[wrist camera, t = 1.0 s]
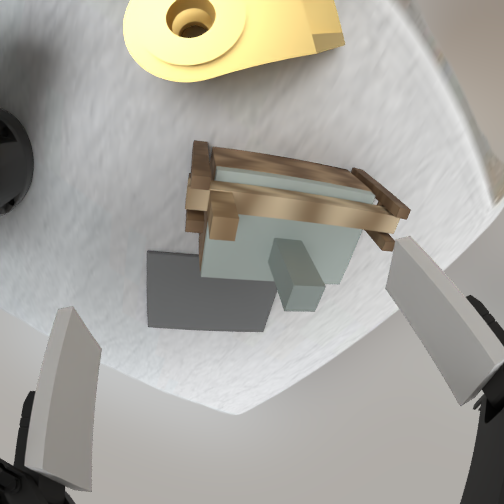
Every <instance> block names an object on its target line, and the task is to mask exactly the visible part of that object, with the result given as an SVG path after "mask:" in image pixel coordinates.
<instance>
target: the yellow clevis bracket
mask: <svg viewBox="0 0 504 504" xmlns="http://www.w3.org/2000/svg"><path fill="white" fill-rule="evenodd" d="M194 25H197V26H201V27H203V28H204V29H206V31H207V32H206V33H205V34H203V35H201V36H198V37H195V38H183V37H181V34H182V32H183V31H184V30H185V29H186V28H188V27H190V26H194ZM123 33H124V39H125V43H126V46H127V48H128V50H129V52H130V54H131V55H132V57H133V58H134V59H135V61H136V62H137V63H138V64H139V65H140V66H141V67H142V68H144V69H145V70H146V71H148V72H150V73H151V74H153V75H155V76H157V77H160V78H163V79H166V80H170V81H176V82H197V81H203V80H207V79H210V78H214V77H217V76H220V75H224V74H227V73H231V72H234V71H238V70H242V69H246V68H250V67H254V66H258V65H262V64H266V63H270V62H275V61H280V60H284V59H289V58H295V57H300V56H305V55H311V54H317V53H320V52H323V51H327V50H330V49H333V48H337V47H340V46H344V45H345V41H344V37H343V33H342V29H341V25H340V21H339V17H338V14H337V10H336V6H335V3H334V0H131V1H130V2H129V4H128V7H127V9H126V12H125V16H124V22H123Z"/></svg>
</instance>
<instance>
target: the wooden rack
mask: <svg viewBox="0 0 504 504" xmlns="http://www.w3.org/2000/svg"><path fill="white" fill-rule="evenodd" d="M216 166H221V167H229V168H237V169H245V170H252V171H259V172H266V173H273V174H279V175H285V176H292V177H298V178H304V179H309V180H315V181H320V182H326V183H331V184H336V185H342V186H347V187H352V188H357V189H361V190H366V191H371V192H372V193H373V194H374V195H375V196H376V197H375V198H376V199H377V200H378V204H377V206H383V207H386V208H387V209H388V210H389V211H390V212H391V213H392V214H393V215H394V216H395V217H396V218H401V219H406V220H407V218H408V215H409V213H410V211H411V210H410V209H409V208H408V207H407V206H406V205H405V204H403V203H402V202H401V201H400V200H399V199H398V198H397V197H395V196H394V195H393V194H392V193H391V192H389V191H388V190H387V189H386V188H385V187H383V186H382V185H381V184H380V183H378V182H377V181H376V180H375V179H373V178H372V177H371V176H370V175H368V174H367V173H366V172H365V171H363V170H361V169H357V168H352V171H351V172H349V171H348V170H346V169H341V168H337V167H332V166H327V165H322V164H318V163H312V162H307V161H302V160H297V159H291V158H286V157H280V156H274V155H268V154H262V153H255V152H249V151H242V150H235V149H227V148H219V147H212V153H211V159H210V161H209V152H208V143H207V142H203V141H194V143H193V150H192V166H191V173H189V178H191V185H190V189H201V190H209V189H210V183H211V180H213V181H214V178H215V172H216ZM207 222H208V216H207V211H200V210H189V209H186V227H185V232H194V233H199V264H200V271H201V265H202V257H203V250H204V243H205V236H206V229H207ZM365 231H366V232H367V233H368V234H369V236H370V237H371V238H372V239H373V240H374V242H375V243H376V244H377V245H378V246H379V248H380V249H381V250H382V251H393V249H394V245H395V241H394V239H393V238H392V237H391V236H390V235H389V234H388V233H385V232H378V231H371V230H365Z"/></svg>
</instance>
